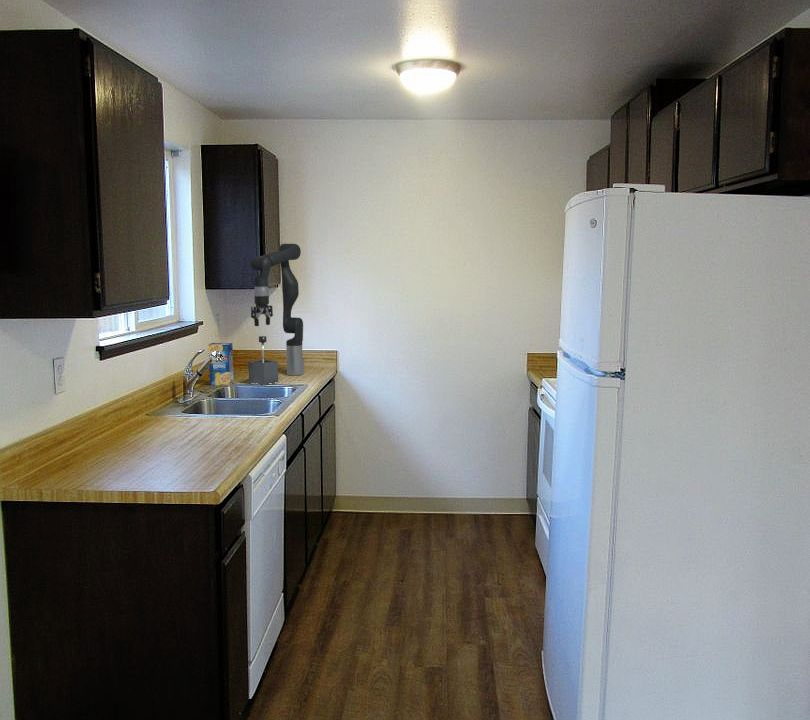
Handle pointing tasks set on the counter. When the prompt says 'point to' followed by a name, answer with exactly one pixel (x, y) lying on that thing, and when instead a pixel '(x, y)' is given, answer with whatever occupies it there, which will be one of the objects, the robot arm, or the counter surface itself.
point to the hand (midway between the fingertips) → (262, 325)
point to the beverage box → (221, 364)
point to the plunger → (262, 339)
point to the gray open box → (263, 371)
